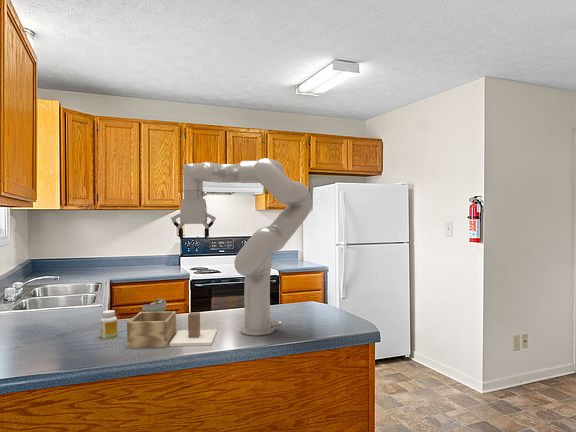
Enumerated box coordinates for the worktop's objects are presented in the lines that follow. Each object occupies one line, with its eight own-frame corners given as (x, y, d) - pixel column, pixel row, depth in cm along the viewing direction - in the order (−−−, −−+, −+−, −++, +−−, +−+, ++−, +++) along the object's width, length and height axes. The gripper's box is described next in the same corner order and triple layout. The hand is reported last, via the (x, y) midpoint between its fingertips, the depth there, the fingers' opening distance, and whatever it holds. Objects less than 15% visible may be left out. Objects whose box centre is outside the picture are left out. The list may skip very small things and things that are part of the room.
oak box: (176, 335, 157) (175, 311, 157) (167, 348, 143) (166, 321, 143) (139, 336, 157) (139, 312, 157) (127, 349, 143) (126, 322, 143)
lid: (217, 332, 160) (216, 308, 159) (211, 345, 145) (211, 318, 144) (178, 332, 159) (178, 308, 159) (169, 346, 144) (168, 319, 144)
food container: (157, 332, 162) (156, 305, 162) (142, 331, 164) (141, 305, 163) (172, 323, 174) (172, 298, 174) (158, 322, 176) (158, 298, 175)
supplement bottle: (120, 336, 157) (120, 310, 157) (110, 341, 152) (109, 313, 152) (108, 335, 159) (108, 309, 158) (97, 339, 154) (97, 312, 153)
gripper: (216, 195, 174) (216, 237, 175) (173, 195, 173) (173, 238, 174) (214, 195, 167) (214, 239, 167) (168, 195, 166) (169, 239, 166)
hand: (193, 238), depth 171 cm, fingers open, 9 cm apart
